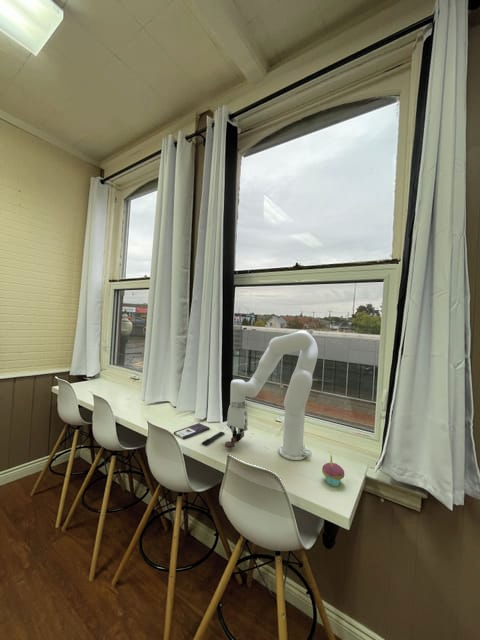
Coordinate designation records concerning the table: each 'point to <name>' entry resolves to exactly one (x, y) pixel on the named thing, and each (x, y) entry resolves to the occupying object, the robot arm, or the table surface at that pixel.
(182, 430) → the chocolate bar
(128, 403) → the table surface
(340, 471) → the cupcake
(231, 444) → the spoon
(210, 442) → the black remote control
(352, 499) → the table surface
